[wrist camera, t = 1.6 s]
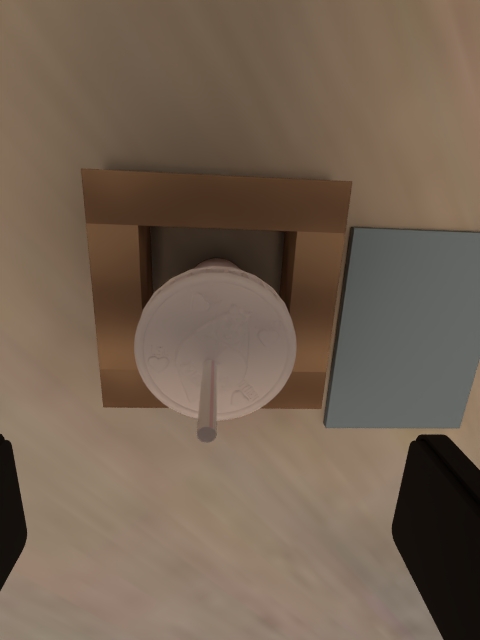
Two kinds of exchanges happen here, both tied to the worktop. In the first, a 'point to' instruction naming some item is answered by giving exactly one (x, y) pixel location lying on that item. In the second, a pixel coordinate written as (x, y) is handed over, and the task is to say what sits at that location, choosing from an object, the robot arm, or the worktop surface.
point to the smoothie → (215, 344)
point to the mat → (406, 330)
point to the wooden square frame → (224, 213)
